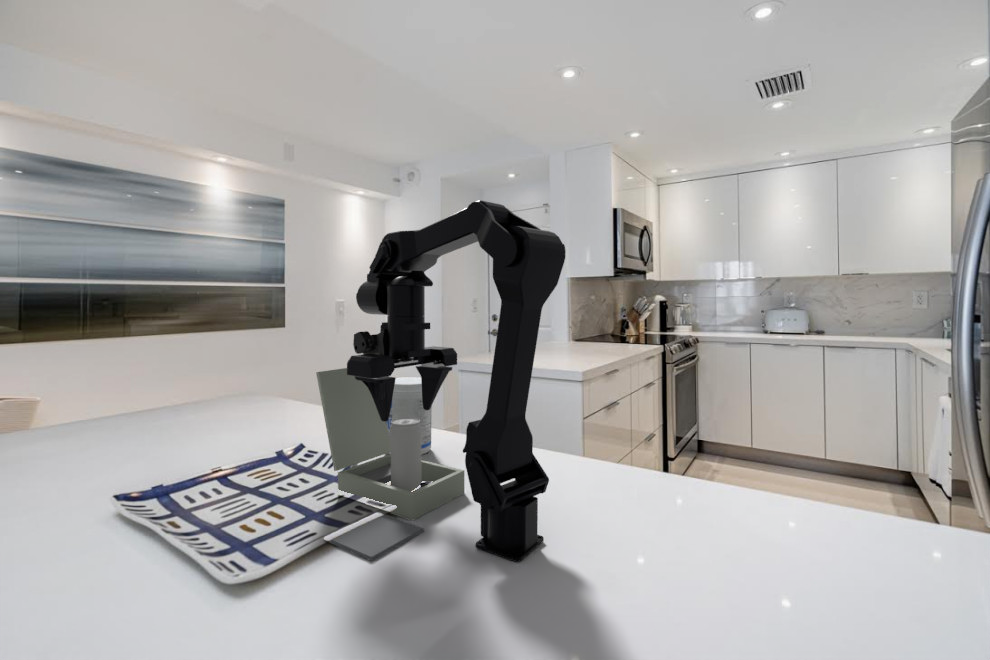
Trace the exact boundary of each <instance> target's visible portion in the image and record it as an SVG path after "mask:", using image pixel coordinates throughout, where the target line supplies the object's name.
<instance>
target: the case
mask: <svg viewBox="0 0 990 660" xmlns="http://www.w3.org/2000/svg"><path fill="white" fill-rule="evenodd" d="M421 473H422V481H433V482H432V483H430V484H428V485H426V484H425V485H422V487H421V488H419V489H417V490H415V491H413V492H411V491H407V490H404V489H401V488H397V487H394V486H391V485H387V484H385V483H387V482H389V481H391V454H387V455H386V454H385V455H384V456H383V455H382V456H381V457H380V456H379V457H376V458H375V459H371V460H370V461H366V462H362V463H359V464H358V466H355V467H352V468H349V467H348V468H347V469H346V468H345V469H344V470H343V469H342V470H340V471H338V472H337V490H338V489H339V490H341V491H344V492H347V493H351V494H354V495H358V496H361V497H366V498H369V499H373V500H375V501H379V502H383V503H386V504H392V505H396V506H397V508H396V509H395V510H394V511H393V512H391V513H390V514H391V515H394V516H397V517H401V518H403V519H406V520H409V521H414V520H416V519H418V518H420V517H422V516H424V515H426V514H428V513H429V512H432V511H433V510H435V509H437V508H439V507H441V506H442V505H444V504H446V503H449V502H450V501H452V500H455V498H458V497H460V496H462V495H463V494H465V470H463V469H460V468H456V467H452V466H448V465H443V464H441V463H440V464H439V463H436V462H431V461H427V460H422V459H421Z"/></svg>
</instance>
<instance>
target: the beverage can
mask: <svg viewBox="0 0 990 660" xmlns="http://www.w3.org/2000/svg"><path fill="white" fill-rule="evenodd" d="M390 451H391V486H394V487H397V488H401V489H404V490H407V491H412V490H414V489H415V488H417V487H418V486H419V485H420V484H421V482H422V473H421V460H422V455H421V424H420V420H419V419H417V418H398V419H394V420H392V421H391V425H390Z"/></svg>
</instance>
